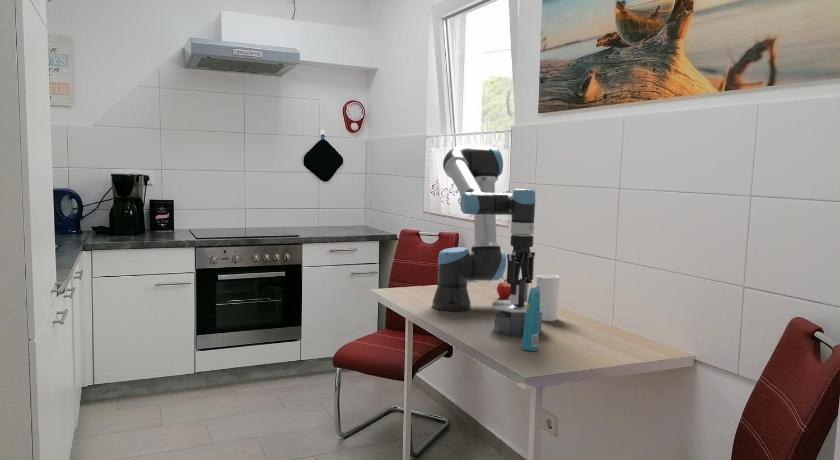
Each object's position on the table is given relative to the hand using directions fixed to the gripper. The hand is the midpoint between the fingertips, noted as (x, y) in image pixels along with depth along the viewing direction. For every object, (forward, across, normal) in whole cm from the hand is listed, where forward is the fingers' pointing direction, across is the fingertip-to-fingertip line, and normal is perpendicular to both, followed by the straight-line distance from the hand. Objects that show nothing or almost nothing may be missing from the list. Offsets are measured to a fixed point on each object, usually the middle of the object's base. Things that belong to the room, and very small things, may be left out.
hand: (519, 302), depth 210 cm
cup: (+10, +23, +3) cm, 25 cm away
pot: (+10, 0, 0) cm, 10 cm away
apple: (+10, +40, +34) cm, 53 cm away
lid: (+2, 0, 0) cm, 2 cm away
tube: (+10, -16, -15) cm, 24 cm away
